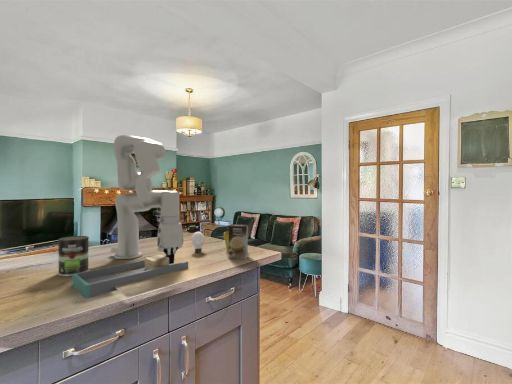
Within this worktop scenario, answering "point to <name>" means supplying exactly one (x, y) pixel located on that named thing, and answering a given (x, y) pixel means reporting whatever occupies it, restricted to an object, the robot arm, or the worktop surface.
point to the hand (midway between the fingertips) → (170, 263)
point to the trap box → (117, 277)
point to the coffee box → (238, 241)
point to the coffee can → (73, 255)
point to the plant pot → (226, 239)
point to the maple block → (156, 262)
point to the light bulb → (198, 241)
